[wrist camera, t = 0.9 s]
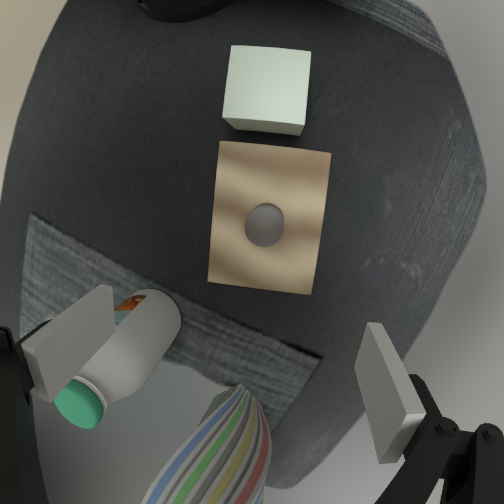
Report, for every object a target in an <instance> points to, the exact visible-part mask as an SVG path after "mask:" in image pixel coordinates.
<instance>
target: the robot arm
mask: <svg viewBox="0 0 504 504" xmlns="http://www.w3.org/2000/svg"><path fill="white" fill-rule="evenodd" d="M134 1H135V3H136V4H137V5H138V6H139V7H140V8H141V9H142V10H143V11H144V12H145V13H146V14H147V15H149V16H151V17H153V18H155V19H158V20H162V21H169V22H181V21H189V20H193V19H197V18H201V17H204V16H206V15H209V14H211V13H213V12H215V11H217V10H219V9H221V8H223V7H224V6H226V5H227V4H228V3H230V2H231V1H232V0H134ZM115 332H116V325H115V314H114V303H113V289H112V286H107V285H102V284H100V285H99V286H97V287H96V288H95V289H93V290H92V291H90V292H89V293H88V294H86V295H85V296H84V297H82V298H81V299H79V300H78V301H77V302H75V303H74V304H73V305H71V306H70V307H69V308H67V309H66V310H65V311H63V312H62V313H61V314H59V315H58V316H57V317H55V318H54V319H51V320H48V321H45V322H43V323H41V324H40V325H39V326H37V327H36V329H33V330H32V331H31V332H30V333H28V334H27V335H26V336H24V337H23V338H22V339H20V340H19V341H18V342H16V343H15V344H14V340H13V336H12V332H11V330H10V329H9V328H8V327H5V326H0V504H49V502H48V498H47V495H46V490H45V486H44V481H43V476H42V471H41V467H40V461H39V454H38V448H37V441H36V434H35V425H34V416H33V405H32V396H31V393H30V390H31V389H32V388H33V387H35V389H36V392H37V395H38V397H40V398H42V399H44V400H46V401H48V402H52V401H53V400H54V399H55V398H56V397H57V395H58V394H59V393H60V392H61V391H62V390H63V389H64V388H65V386H66V385H67V384H68V383H69V382H70V381H71V380H72V379H73V378H74V376H75V375H76V374H77V373H78V372H79V371H80V370H81V369H82V368H83V367H84V365H85V364H86V363H87V362H88V361H89V360H90V359H91V358H92V357H93V356H94V355H95V354H96V352H97V351H98V350H99V349H100V348H101V347H102V346H103V345H104V344H105V343H106V342H107V341H108V340H109V339H110V337H111V336H112V335H113V334H114V333H115ZM354 369H355V372H356V376H357V379H358V383H359V387H360V390H361V394H362V398H363V401H364V405H365V409H366V413H367V416H368V420H369V424H370V428H371V432H372V436H373V440H374V445H375V449H376V453H377V457H378V462H379V464H384V463H397V462H398V460H399V458H400V457H401V455H402V454H404V457H405V462H404V464H403V465H402V467H401V468H400V470H399V471H398V472H397V474H396V476H395V477H394V478H393V480H392V481H391V482H390V484H389V485H388V486H387V488H386V489H385V491H384V492H383V493H382V494H381V496H380V497H379V498H378V500H377V501H376V502H375V503H374V504H425V503H426V502H427V500H428V498H429V496H430V495H431V493H432V491H433V489H434V487H435V485H436V483H437V481H438V479H439V478H440V479H444V485H443V490H442V495H441V500H440V504H504V436H503V433H502V431H501V430H500V429H499V428H498V427H497V426H495V425H492V424H490V423H484V424H481V425H480V426H479V427H478V428H477V429H476V431H475V432H468V431H461V430H459V427H458V425H457V424H456V423H455V422H454V421H452V420H451V419H449V418H446V417H442V415H441V413H440V411H439V409H438V407H437V405H436V403H435V401H434V399H433V397H431V394H430V391H428V388H427V386H426V384H425V382H424V381H423V380H422V379H421V378H420V377H419V376H418V375H416V374H415V375H414V374H409V375H408V374H407V372H406V370H405V368H404V366H403V364H402V362H401V360H400V358H399V356H398V354H397V352H396V350H395V348H394V346H393V344H392V342H391V340H390V338H389V336H388V335H387V333H386V331H385V329H384V327H383V325H382V323H372V322H367V325H366V329H365V332H364V336H363V340H362V343H361V346H360V350H359V353H358V356H357V360H356V363H355V366H354Z"/></svg>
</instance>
